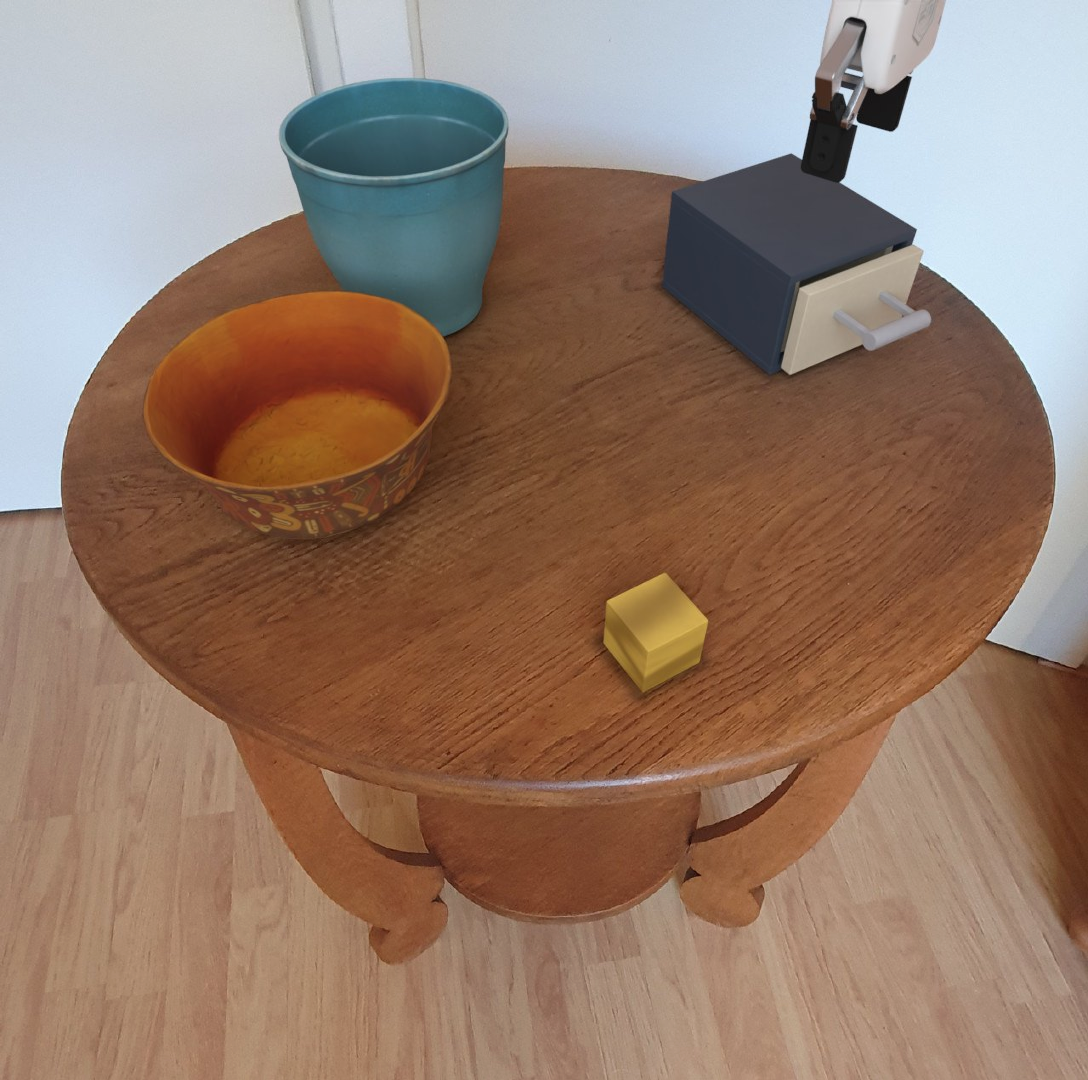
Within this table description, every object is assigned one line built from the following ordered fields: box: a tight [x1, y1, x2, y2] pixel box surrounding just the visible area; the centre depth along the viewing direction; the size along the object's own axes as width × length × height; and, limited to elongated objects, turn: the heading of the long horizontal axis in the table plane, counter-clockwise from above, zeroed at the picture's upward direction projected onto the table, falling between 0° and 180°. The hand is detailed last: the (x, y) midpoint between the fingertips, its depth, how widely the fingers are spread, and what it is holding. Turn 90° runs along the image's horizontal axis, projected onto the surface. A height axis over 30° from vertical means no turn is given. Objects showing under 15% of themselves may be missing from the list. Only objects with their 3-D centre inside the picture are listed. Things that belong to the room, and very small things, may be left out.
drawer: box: [780, 244, 932, 376], centre depth 81 cm, size 19×12×8 cm, turn 31°
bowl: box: [141, 290, 453, 540], centre depth 68 cm, size 21×21×10 cm
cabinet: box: [661, 152, 918, 376], centre depth 83 cm, size 16×14×10 cm
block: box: [602, 572, 709, 694], centre depth 59 cm, size 4×4×4 cm
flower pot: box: [278, 77, 509, 338], centre depth 81 cm, size 18×18×17 cm
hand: (849, 150), depth 70 cm, fingers open, 9 cm apart
